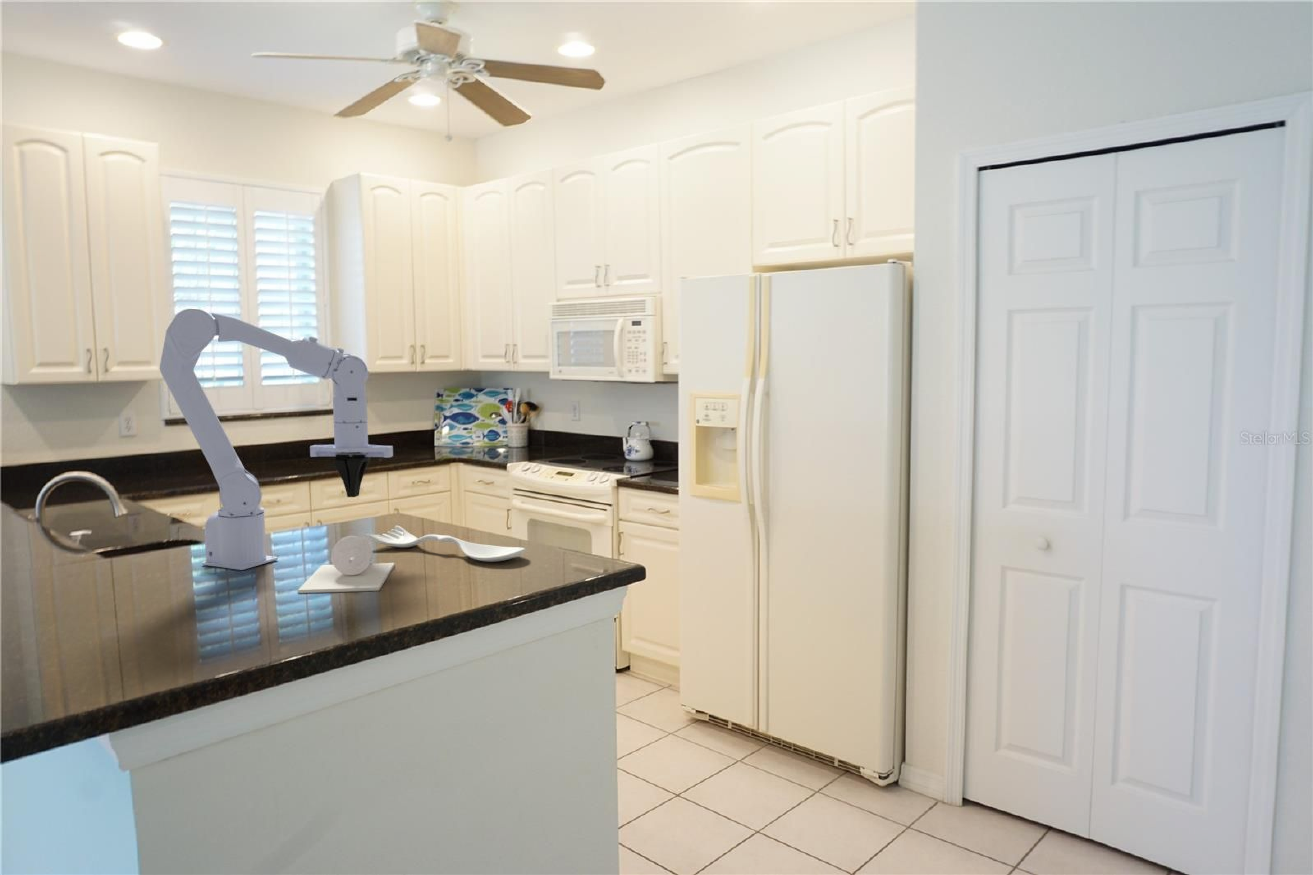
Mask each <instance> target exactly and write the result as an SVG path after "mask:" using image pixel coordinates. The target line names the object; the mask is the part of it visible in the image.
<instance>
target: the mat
mask: <svg viewBox="0 0 1313 875" xmlns="http://www.w3.org/2000/svg"><path fill="white" fill-rule="evenodd" d="M394 567H395V562H379V563H378V562H376V563H373V562H372V563H371V564H370V565H369V567H368V568H367V569H366V570H364V571H363V572H361V573H359V574H356V575H346V574H343V573H341V572H339V571H338V570H337V569H336V568H335V567H334V565H333V564H321V565H320V566H319V567H318V568H317V569H316V570H315V571H314V573H313V574H312V575H310V576H309V577H308V579H306V581H305V582H304V583H303V584H302V585H301V586H300V587H298V589H297V593H298V594H311V593H313V594H317V593H343V592H348V593H349V592H368V591H369V592H370V591H372V592H373V591H376V592H377V591H379V590H381V588H382V586H383V585H384V583H385V582H386V581H387V579H388V576H390V573H391V572H392V570H393V569H394Z"/></svg>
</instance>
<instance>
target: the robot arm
mask: <svg viewBox="0 0 1313 875" xmlns="http://www.w3.org/2000/svg"><path fill="white" fill-rule="evenodd" d="M216 336H218V338H217V339H218V340H217V341H218V343H221V342H222V343H223V342H225V343H226V342H240V343H243V344H246V345H249V346H252V347H255V348H258V349H261V350H263V351H267V352H268V353H269V352H270V353H272V354H276V355H279V356H281V357H284V358H285V359H286V361H287V364H288V365H289V367H290V368H291V369H295V370H297V371H300V372H303V373H306V374H308V375H311V376H313V377H317V378H319V379H322V380H325V381H326V380H328V379H329V380H330V379H331V380H332V382H333V396H332V405H333V406H332V407H333V409H332V410H333V434H334V436H333V438H334V444H314V445H310V446H309V454H310V455H309V456H310V458H313V457H314V458H315V457H317V458H318V457H335V458H334V459H333V460H332V464H333V466H334V467H335V469H336V471H337V473H339V476H340V477H341V480H342V483H343V485H344V489H345V492H346V496H347V498H356V497H359V495H360V490H361V485H362V480H363V478H364V474H365V472H366V470H367V468H368V465H369V464H370V462H371V458H392V457H394V446H393V445H382V444H381V445H378V444H369V433H368V432H369V431H368V404H367V403H368V402H367V401H368V398H367V396H366V392H367V387H366V382H367V381H368V379H369V376H370V371H369V370H368V366H367V365H366V363H365V362H364V361H363V359H362V358H360V357H358V356H357V355H356V356H355V355H352V354H350V353H345V350H344V349H342V348H341V347H338V348H337V349H336V348H333V347H330V346H328V345H325V344H322V343H320V342H318V338H316V337H314V336H308V338H307V337H304V336H300V337H297V338H295V339H288V338H286V337H283V336H281V335H278V334H276V333H273V332H271V331H268V330H266V329H263V328H261V327H258V326H255V325H253V324H251V323H249V322H245V321H243V320H241V319H239V318H236V317H232V316H229V315H223V314H218V313H213V312H211V314H209V313H208V312H206V311H205V310H203V309H200V308H195V307H193V308H192V307H190V308H186V309H183V310H180V312H178V313H177V314H176V315H174V318H173V319H172V321H171V322H170V323H169V326H168V327H167V329H166V330H165V336H164V342H163V348H162V352H161V358H160V363H159V372H160V373H161V376H162V378H163V380H164V382H165V384H166V385H167V388H168V389H169V391H170V393H171V395H172V396H173V398H174V401H175V403H176V404H177V406H178V409H179V410H180V412H181V414H182V416H183V418H184V420H185V422H186V423H187V425H188V427H189V429H190V431H191V432H192V435H193V436H194V438H195V440H196V442H197V444H198V446H199V448H200V450H201V452H202V454H203V456H204V457H205V459H206V461H207V463H208V465H209V467H210V469H211V472H212V473H213V476H214V479H215V480H216V483H217V484H218V487H219V499H220V503H221V505H222V507H220V508H219V509H217V511H216V512H214V513H212V514H211V515H210V516H208V518H207V519H206V522H205V524H204V546H205V548H204V549H205V561H202V562H201V564H202V565H203V566H209V567H210V566H211V567H215V568H216V567H218V568H225V569H230V570H238V571H239V570H240V571H243V570H247V569H250V568H251V569H252V568H254V567H257V566H261V565H263V564H267V563H268V564H269V563H271V562H274V561H278V559H279V557H278V556H273V555H267V547H266V546H267V545H266V524H265V523H266V521H265V520H266V519H265V508H264V507H262V506H261V505H260V504H261V502H262V497H263V495H262V490H261V488H260V483H259V481H258V479H257V477H255V475H254V474H252V473H250V472H249V471H248V470H246V469H245V467H244V465H243V463H242V461H241V459H240V457H239V456H238V454H237V452H236V450H235V449H234V447H233V445H232V443H231V441H230V439H229V436H228V434H227V433H226V431H225V429H224V426H223V425H222V423H221V421H220V420H219V417H218V416H217V413H216V412H215V409H214V407H213V406H212V403H211V402H210V399H209V397H208V396H207V393H206V392H205V391H204V388H203V386H202V385H201V383H200V380H199V379H198V376H197V375H196V373H195V371H194V369H195V367H196V365H197V364H198V360H199V358H200V356H201V353H202V352H203V351H204V349H205V348H207V346H208V345H209V344H210V343H212V341H213V340H214V338H215V337H216Z"/></svg>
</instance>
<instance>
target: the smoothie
mask: <svg viewBox="0 0 1313 875" xmlns="http://www.w3.org/2000/svg"><path fill="white" fill-rule="evenodd" d="M373 555H374V553H373V544H372V541H371V540H369V539H368V538H366V537H365V536H357V535H347V536H344V537H341V539H339V540H338V541H336V543H335V544H334V546H333V547H332V550H331V553H330V557H331V558H330V559H331V563H332V565H334V567H335V568H336V569H337V570H338V571H339V572H341V573H343V574H346V575H356V574H359V573H361V572H363V571H364V570H366V569H367V568H368V567H369V565H370V564H372V561H373Z"/></svg>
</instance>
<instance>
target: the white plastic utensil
mask: <svg viewBox="0 0 1313 875" xmlns="http://www.w3.org/2000/svg"><path fill="white" fill-rule="evenodd" d="M363 537H366V538H368V539H369V540H370V542H374V543H378V544H383V545H386V546H390V547H396V548H401V549H402V548H411V547H414V546H416V545H420V544H421V543H424V542H427V541H435V542H436V541H437V542H439V543H451V544H454V545H457V546H458V547H459V549H460V550H461V551H462V552H463V554H464V555H466V556H467V557H468V558H471V559H473V560H476V561H481V562H484V563H496V562H502V561H506V560H511V559H514V558H517V557H520V556H522V555H523V554H524V553H525V552H526V548H525V547H519V546H517V547H516V546H515V547H514V546H502V545H501V546H500V545H492V544H491V545H490V544H480V543H474V542H470V541H466V540H462V539H459V538H457V537H454V536H452V535H447V534H443V535H441V534H435V533H433V534H432V533H431V534H425V535H424V536H420V537H419V538H418V537H417V536H415V535H413V534H412V533H410V532H408V531H407V530H406V529H405V528H403V527H401V526H399V525H395V526H394V529H393V528H392V529H391V530H390V531H387V534H385V533H382V535H380V534H368V533H365V534H364V536H363Z"/></svg>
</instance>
